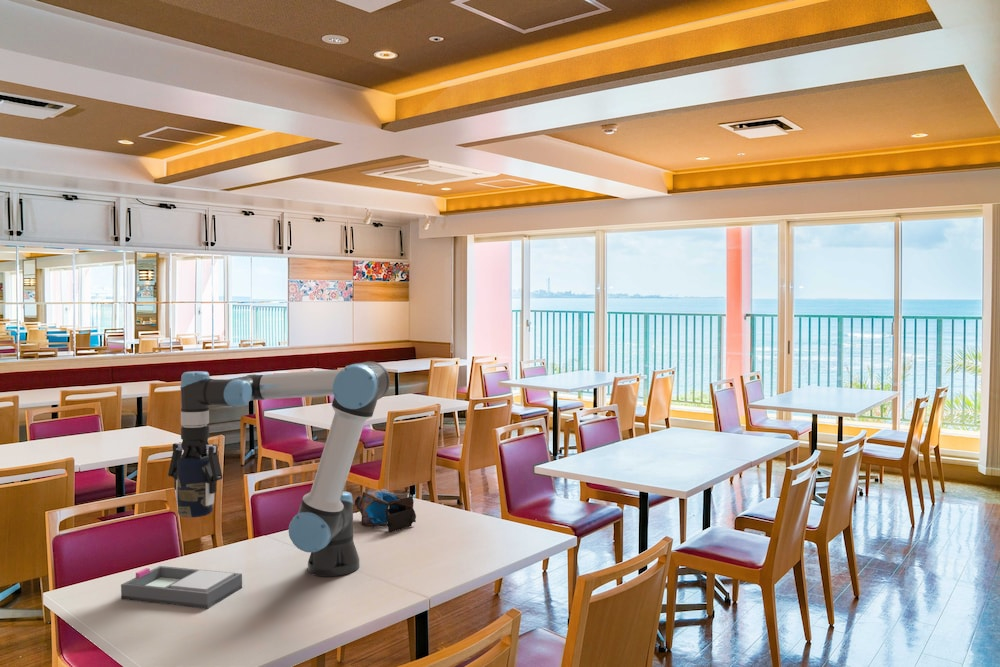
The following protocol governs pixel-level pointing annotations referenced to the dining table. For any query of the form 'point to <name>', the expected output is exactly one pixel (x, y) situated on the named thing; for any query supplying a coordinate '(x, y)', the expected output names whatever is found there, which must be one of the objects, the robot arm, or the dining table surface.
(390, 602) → the dining table surface
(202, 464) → the canister
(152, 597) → the grey divided tray
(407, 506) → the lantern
